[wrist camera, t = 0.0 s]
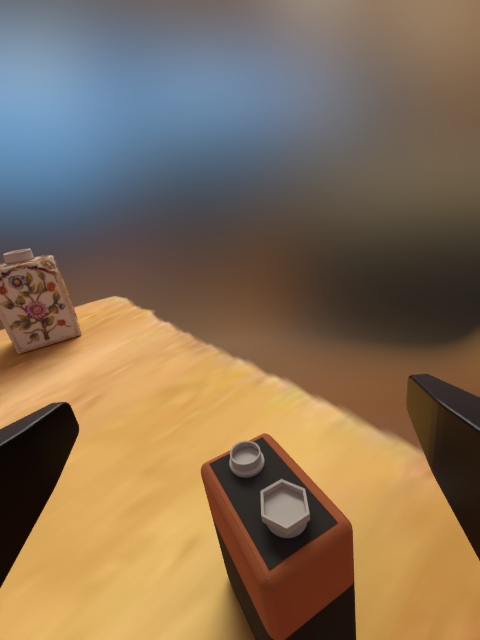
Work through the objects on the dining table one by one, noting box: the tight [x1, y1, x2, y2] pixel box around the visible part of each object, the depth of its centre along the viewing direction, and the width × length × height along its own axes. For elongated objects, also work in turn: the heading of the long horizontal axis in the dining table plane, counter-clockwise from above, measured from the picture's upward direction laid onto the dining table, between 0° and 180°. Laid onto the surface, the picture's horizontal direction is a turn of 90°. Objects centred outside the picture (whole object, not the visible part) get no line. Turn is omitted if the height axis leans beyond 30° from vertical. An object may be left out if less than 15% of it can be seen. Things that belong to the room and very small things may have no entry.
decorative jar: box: [0, 249, 81, 354], centre depth 63 cm, size 12×12×18 cm
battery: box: [201, 434, 356, 640], centre depth 16 cm, size 4×7×10 cm, turn 27°
